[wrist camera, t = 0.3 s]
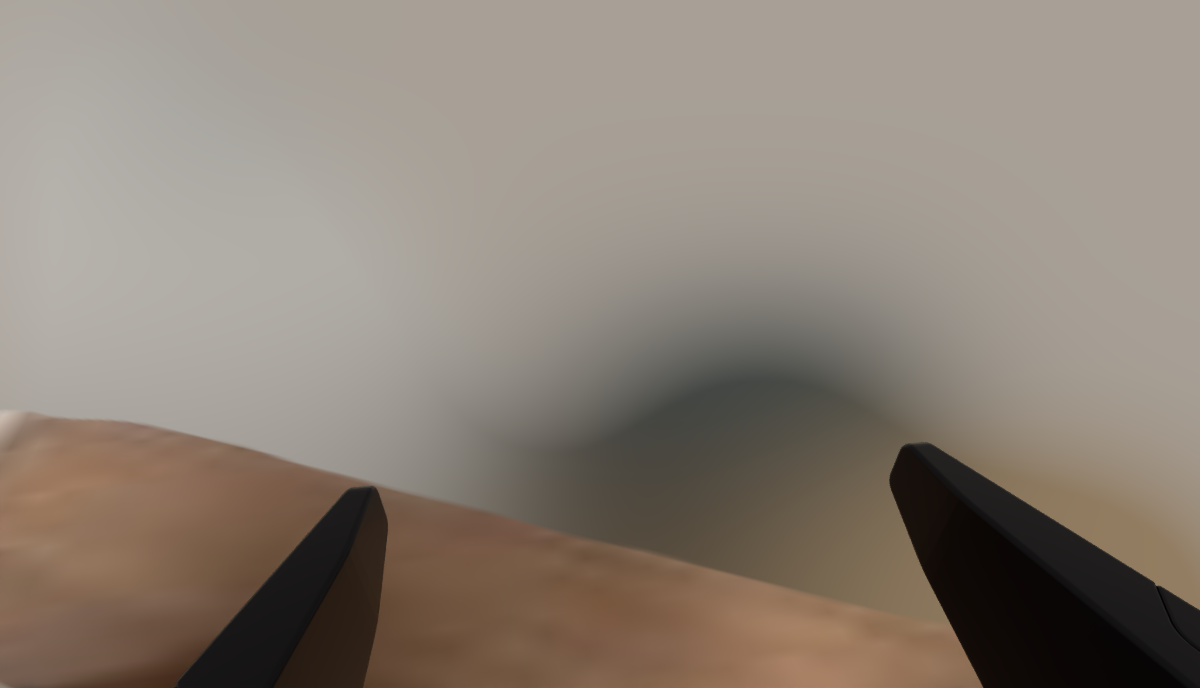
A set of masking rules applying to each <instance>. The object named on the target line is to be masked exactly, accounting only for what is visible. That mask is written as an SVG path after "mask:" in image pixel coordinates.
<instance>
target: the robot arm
mask: <svg viewBox="0 0 1200 688" xmlns="http://www.w3.org/2000/svg"><path fill="white" fill-rule="evenodd" d="M889 481H890V488H891V491H892V493H893V495H894V499H895V501H896V504H897V506H898V509H899V511H900V514H901V516H902V519H903V522H904V524H905V526H906V529H907V531H908V534H909V537H910V539H911V542H912V544H913V547H914V550H915V552H916V555H917V557H918V559H919V562H920V564H921V566H922V569H923V571H924V573H925V575H926V577H927V579H928V581H929V583H930V585H931V587H932V589H933V591H934V593H935V594H936V597H937V599H938V601H939V603H940V604H941V606H942V608H943V610H944V612H945V614H946V616H947V618H948V620H949V622H950V624H951V626H952V628H953V630H954V632H955V634H956V636H957V637H958V639H959V641H960V643H961V645H962V647H963V649H964V651H965V653H966V655H967V657H968V659H969V661H970V663H971V665H972V667H973V669H974V670H975V672H976V674H977V676H978V678H979V680H980V682H981V684H982V686H983V688H1200V610H1199V609H1197V608H1195V607H1194V606H1192V605H1190V604H1189V603H1187V602H1185V601H1184V600H1182V599H1181V598H1179V597H1177V596H1176V595H1174V594H1173V593H1171V592H1169V591H1168V590H1166V589H1165V588H1163V587H1161V586H1156V585H1155V583H1154V582H1153V581H1151V580H1150V579H1148V578H1147V577H1145V576H1143V575H1142V574H1140V573H1139V572H1137V571H1135V570H1134V569H1132V568H1131V567H1129V566H1127V565H1126V564H1124V563H1122V562H1121V561H1119V560H1118V559H1116V558H1114V557H1113V556H1111V555H1110V554H1108V553H1106V552H1105V551H1103V550H1102V549H1100V548H1098V547H1097V546H1095V545H1093V544H1092V543H1090V542H1088V541H1087V540H1085V539H1084V538H1082V537H1081V536H1079V535H1077V534H1076V533H1074V532H1072V531H1071V530H1069V529H1068V528H1066V527H1065V526H1063V525H1061V524H1059V523H1058V522H1056V521H1055V520H1053V519H1052V518H1050V517H1048V516H1047V515H1045V514H1044V513H1042V512H1040V511H1039V510H1037V509H1036V508H1034V507H1032V506H1031V505H1029V504H1027V503H1026V502H1024V501H1023V500H1021V499H1019V498H1018V497H1016V496H1015V495H1013V494H1011V493H1010V492H1008V491H1006V490H1005V489H1003V488H1002V487H1000V486H998V485H997V484H995V483H994V482H992V481H990V480H989V479H987V478H986V477H984V476H982V475H981V474H979V473H977V472H976V471H974V470H973V469H971V468H970V467H968V466H966V465H965V464H963V463H961V462H960V461H958V460H957V459H955V458H953V457H952V456H950V455H948V454H947V453H945V452H944V451H942V450H941V449H939V448H937V447H936V446H934V445H932V444H930V443H927V442H920V443H908V444H905V445H904V446H902V447H901V449H900V451H899V454H898V456H897V459H896V461H895V463H894V466H893V468H892V471H891V473H890V479H889ZM387 534H388V522H387V517H386V513H385V510H384V507H383V504H382V501H381V498H380V495H379V492H378V490H377V489H376V487H374V486H363V487H352V488H350V489H348V490H347V491H346V492H345V493H344V494H343V495H342V496H341V497H340V498H339V499H338V500H337V502H336V503H335V504H334V505H333V506H332V507H331V508H330V509H329V511H328V512H327V513H326V514H325V515H324V516H323V517H322V518H321V520H320V521H319V522H318V523H317V524H316V525H315V526H314V527H313V529H312V530H311V531H310V532H309V533H308V534H307V535H306V536H305V538H304V539H303V540H302V541H301V542H300V543H299V544H298V545H297V547H296V548H295V549H294V550H293V551H292V552H291V553H290V555H289V556H288V557H287V558H286V559H285V560H284V561H283V562H282V564H281V565H280V566H279V567H278V568H277V569H276V570H275V571H274V573H273V574H272V575H271V576H270V577H269V578H268V579H267V580H266V582H265V583H264V584H263V585H262V586H261V587H260V588H259V589H258V591H257V592H256V593H255V594H254V595H253V596H252V597H251V598H250V600H249V601H248V602H247V603H246V604H245V605H244V606H243V607H242V609H241V610H240V611H239V612H238V613H237V614H236V615H235V616H234V618H233V619H232V620H231V621H230V622H229V623H228V624H227V625H226V627H225V628H224V629H223V630H222V631H221V632H220V633H219V634H218V636H217V637H216V638H215V639H214V640H213V641H212V642H211V643H210V645H209V646H208V647H207V648H206V649H205V650H204V651H203V652H202V654H201V655H200V656H199V657H198V658H197V659H196V660H195V661H194V663H193V664H192V665H191V666H190V667H189V668H188V669H187V670H186V672H185V673H184V674H183V675H182V676H181V677H180V678H179V679H178V681H177V683H176V686H177V687H176V686H174V687H171V688H363V685H364V681H365V677H366V672H367V668H368V663H369V659H370V655H371V650H372V646H373V641H374V637H375V632H376V627H377V622H378V614H379V607H380V597H381V588H382V579H383V570H384V561H385V552H386V543H387Z"/></svg>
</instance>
